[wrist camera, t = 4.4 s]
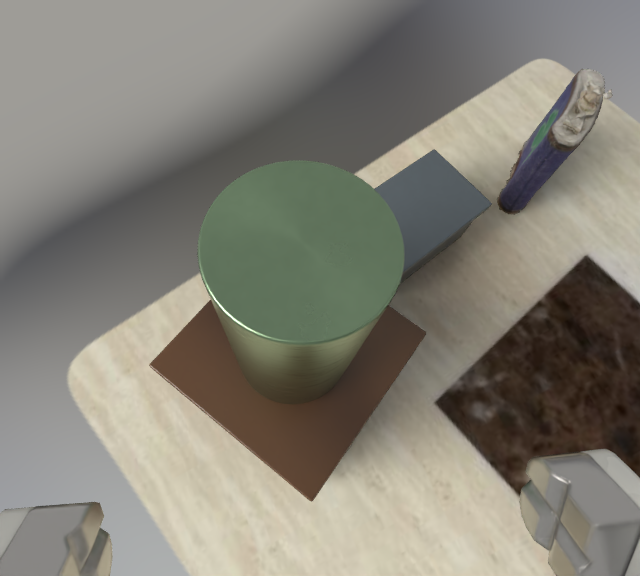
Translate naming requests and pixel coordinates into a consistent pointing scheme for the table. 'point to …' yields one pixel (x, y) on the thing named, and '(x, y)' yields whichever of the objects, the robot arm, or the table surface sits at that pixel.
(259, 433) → the block
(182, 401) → the table surface
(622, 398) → the table surface
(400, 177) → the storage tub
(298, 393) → the tin
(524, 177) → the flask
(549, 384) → the table surface
